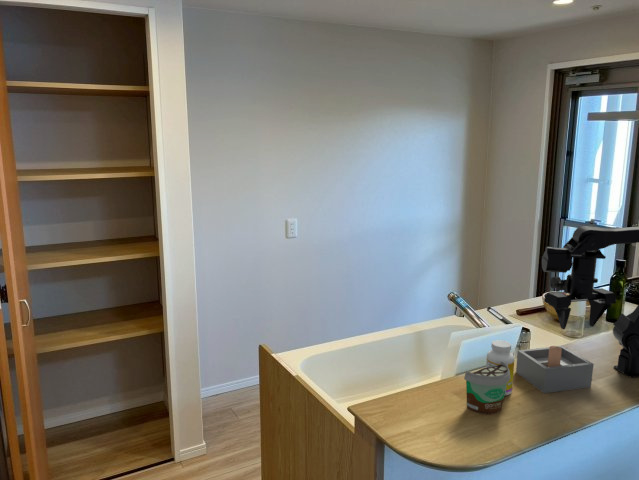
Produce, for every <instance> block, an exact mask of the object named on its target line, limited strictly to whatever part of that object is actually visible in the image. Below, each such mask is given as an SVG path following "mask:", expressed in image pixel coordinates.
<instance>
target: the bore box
mask: <svg viewBox="0 0 639 480" xmlns="http://www.w3.org/2000/svg"><path fill="white" fill-rule="evenodd" d="M556 346H557V345H556ZM549 347H550V346H547V347H538V348H537V347H536V348H528V349H518V350H517V356H516V367H515V373H516V372H517V373H518V374H517V373H516V374H517V375H519V376H520V377H521V376H522V377H521V378H523V379H524V380H525V381H527V383H529V384H530V385H532V386H533V387H535V388H536V389H537V390H539V391H540V392H542V393H543V394H548V393H555V392H564V391H571V390H572V391H573V390H578V389H586V388H587V389H588V388H591V387H592V380H593V373H594V363H593V362H591V361H589V360H588V359H586V358H584V357H582V356H581V355H579V354H577V353H576V352H573V350H570V349H569V348H567V347H565V346H563V345H558V346H557V347H560V348H561V349H562V352H561V361H560V366H555V367H547V366H548V356H549Z"/></svg>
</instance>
